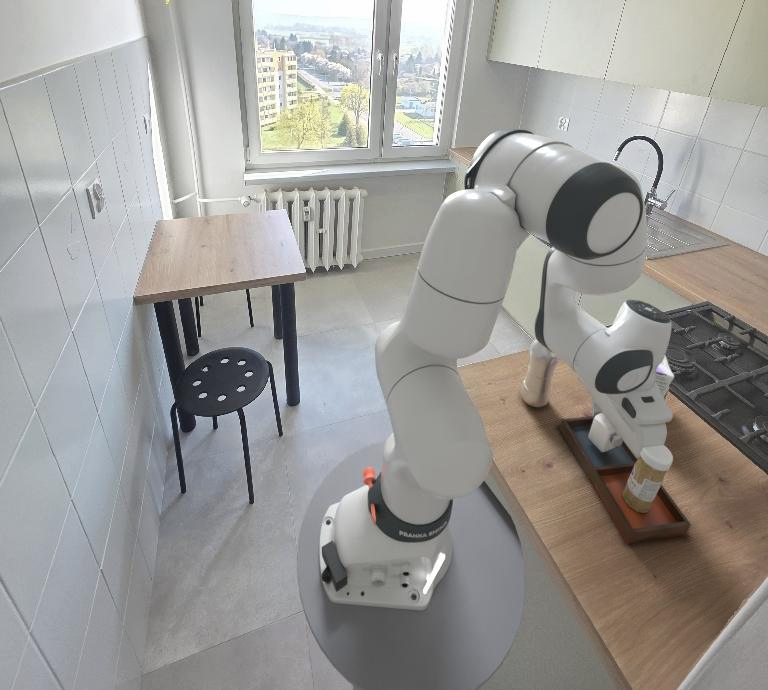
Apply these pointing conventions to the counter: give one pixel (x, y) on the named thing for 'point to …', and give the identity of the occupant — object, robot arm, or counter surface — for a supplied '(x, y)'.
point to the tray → (622, 487)
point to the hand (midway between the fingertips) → (605, 430)
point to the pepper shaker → (601, 432)
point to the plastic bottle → (539, 375)
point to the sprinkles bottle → (647, 477)
